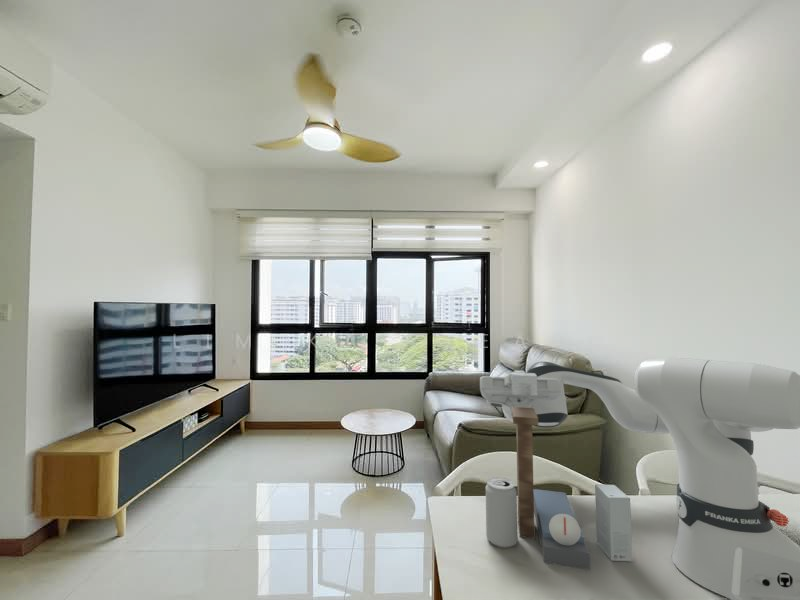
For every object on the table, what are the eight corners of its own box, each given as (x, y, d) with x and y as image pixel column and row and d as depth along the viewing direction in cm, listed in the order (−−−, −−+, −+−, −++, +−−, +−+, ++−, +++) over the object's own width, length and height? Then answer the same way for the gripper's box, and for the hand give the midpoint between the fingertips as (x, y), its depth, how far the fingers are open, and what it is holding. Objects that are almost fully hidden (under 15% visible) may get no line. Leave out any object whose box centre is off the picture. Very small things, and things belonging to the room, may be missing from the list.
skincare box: (633, 562, 69) (631, 498, 69) (610, 561, 69) (608, 497, 70) (616, 542, 75) (614, 484, 75) (595, 542, 75) (593, 483, 76)
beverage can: (519, 552, 72) (518, 490, 72) (486, 548, 73) (486, 487, 74) (515, 533, 78) (514, 477, 79) (485, 530, 79) (484, 474, 80)
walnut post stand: (536, 522, 82) (533, 408, 84) (540, 546, 74) (538, 418, 75) (513, 519, 84) (511, 406, 85) (515, 542, 75) (513, 416, 76)
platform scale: (566, 509, 88) (566, 472, 88) (589, 569, 67) (588, 521, 67) (532, 505, 90) (531, 469, 90) (544, 562, 69) (543, 515, 69)
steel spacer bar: (529, 380, 93) (529, 365, 93) (537, 395, 75) (536, 376, 75) (509, 379, 94) (508, 364, 94) (512, 394, 76) (512, 375, 76)
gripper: (559, 408, 95) (567, 391, 84) (481, 404, 101) (478, 387, 89) (557, 385, 99) (564, 366, 87) (481, 382, 104) (479, 363, 93)
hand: (520, 376), depth 88 cm, fingers closed on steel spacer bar, 2 cm apart
